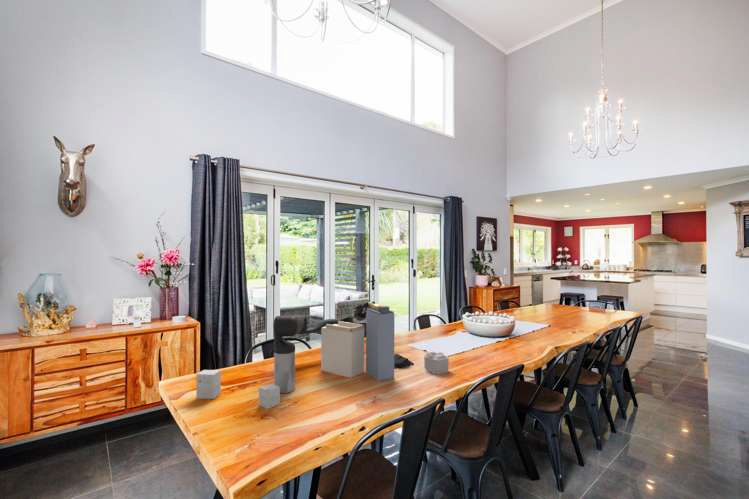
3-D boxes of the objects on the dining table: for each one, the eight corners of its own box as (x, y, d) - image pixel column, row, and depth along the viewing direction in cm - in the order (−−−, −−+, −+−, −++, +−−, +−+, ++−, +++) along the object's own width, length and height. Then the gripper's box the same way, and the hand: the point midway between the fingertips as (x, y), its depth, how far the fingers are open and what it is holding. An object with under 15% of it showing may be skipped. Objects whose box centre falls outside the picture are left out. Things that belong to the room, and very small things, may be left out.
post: (394, 378, 174) (394, 311, 174) (377, 381, 170) (378, 312, 170) (381, 369, 186) (381, 307, 187) (365, 372, 182) (366, 308, 183)
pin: (389, 313, 174) (389, 306, 174) (380, 314, 172) (380, 307, 172) (370, 307, 194) (370, 301, 194) (362, 307, 192) (362, 301, 192)
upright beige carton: (364, 371, 183) (364, 324, 183) (351, 378, 174) (351, 328, 174) (334, 364, 194) (335, 320, 194) (321, 370, 185) (321, 323, 185)
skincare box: (271, 400, 147) (271, 382, 147) (280, 404, 144) (280, 386, 144) (258, 405, 143) (258, 387, 143) (267, 409, 139) (267, 390, 139)
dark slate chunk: (393, 355, 213) (393, 348, 213) (415, 366, 194) (415, 357, 194) (371, 359, 205) (371, 351, 205) (392, 370, 186) (392, 361, 186)
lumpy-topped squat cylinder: (437, 375, 179) (437, 358, 179) (419, 368, 189) (419, 352, 189) (451, 371, 185) (451, 354, 185) (433, 364, 195) (433, 349, 195)
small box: (221, 394, 154) (221, 370, 154) (213, 399, 148) (214, 374, 148) (203, 393, 154) (203, 369, 154) (195, 398, 149) (196, 373, 149)
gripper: (347, 309, 200) (357, 297, 186) (369, 307, 206) (381, 296, 193) (349, 322, 196) (360, 310, 183) (372, 320, 202) (384, 308, 189)
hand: (371, 303), depth 188 cm, fingers closed on pin, 3 cm apart
